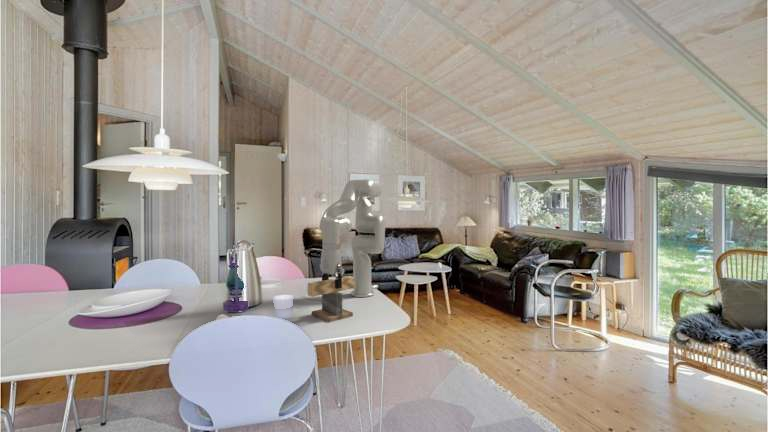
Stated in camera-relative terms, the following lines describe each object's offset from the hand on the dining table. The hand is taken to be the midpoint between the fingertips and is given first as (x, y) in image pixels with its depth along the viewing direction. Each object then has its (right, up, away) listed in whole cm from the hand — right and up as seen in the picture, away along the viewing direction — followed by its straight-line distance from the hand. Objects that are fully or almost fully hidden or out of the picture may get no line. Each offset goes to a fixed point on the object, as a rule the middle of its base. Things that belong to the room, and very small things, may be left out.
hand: (331, 286), depth 166 cm
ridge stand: (0, -13, +1) cm, 13 cm away
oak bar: (0, -2, 0) cm, 2 cm away
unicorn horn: (-35, -14, -18) cm, 42 cm away
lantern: (-45, -13, +9) cm, 48 cm away
